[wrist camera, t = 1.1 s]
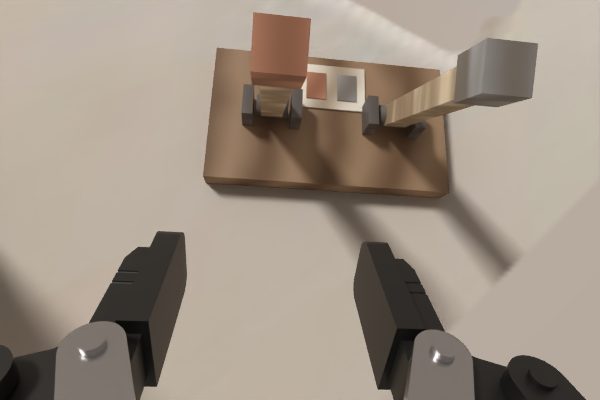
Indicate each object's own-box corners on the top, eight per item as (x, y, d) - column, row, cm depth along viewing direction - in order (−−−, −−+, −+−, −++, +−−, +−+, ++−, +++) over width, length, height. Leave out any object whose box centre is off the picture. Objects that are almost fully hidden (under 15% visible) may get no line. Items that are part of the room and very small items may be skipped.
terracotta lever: (255, 121, 38) (248, 71, 19) (257, 92, 37) (251, 12, 18) (286, 123, 38) (308, 76, 19) (288, 94, 38) (312, 18, 19)
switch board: (205, 182, 37) (199, 166, 33) (218, 59, 41) (214, 31, 37) (439, 197, 40) (462, 184, 36) (431, 80, 44) (450, 55, 39)
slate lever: (374, 130, 39) (480, 93, 20) (376, 102, 39) (485, 37, 20) (403, 133, 39) (533, 98, 20) (405, 105, 39) (539, 43, 20)
